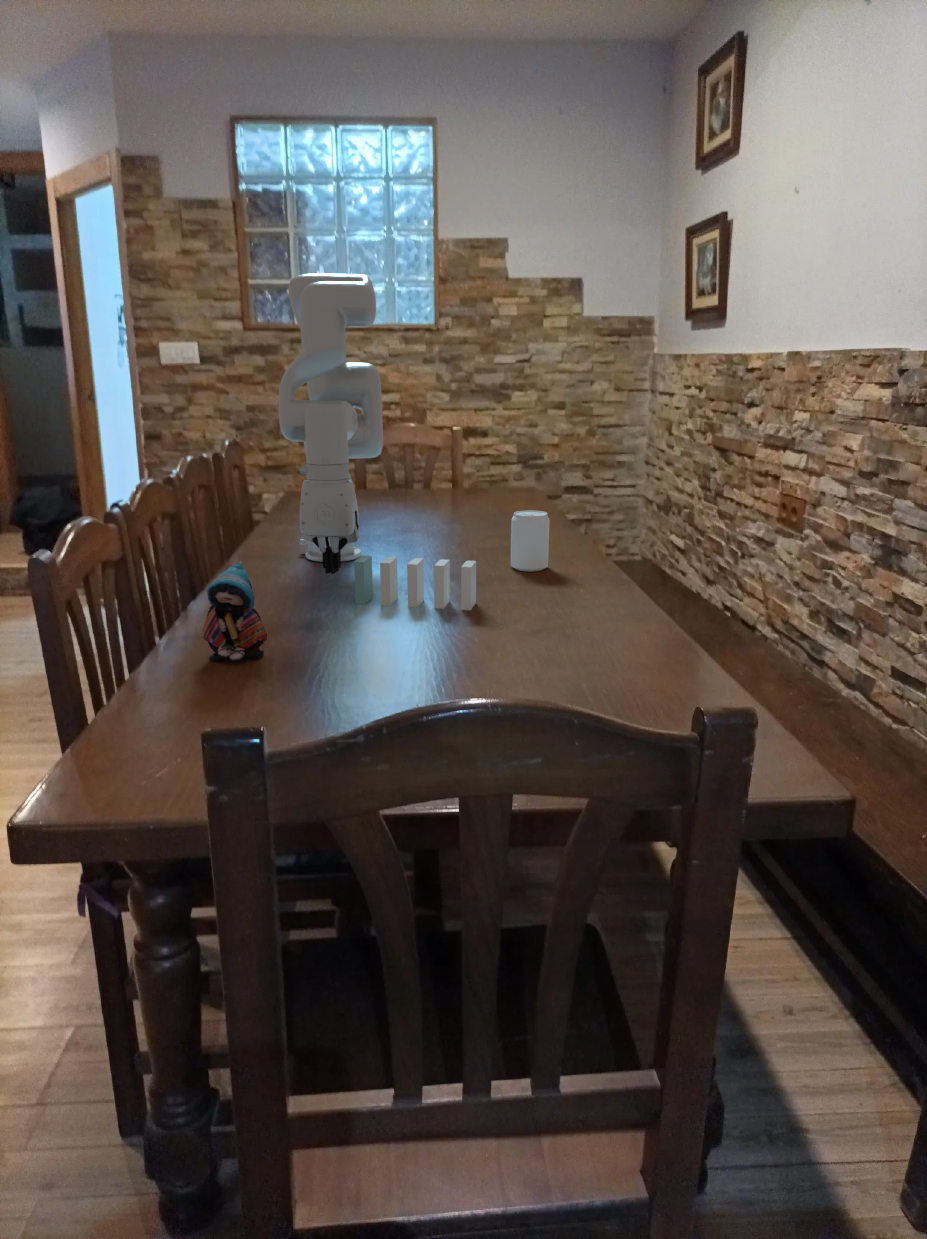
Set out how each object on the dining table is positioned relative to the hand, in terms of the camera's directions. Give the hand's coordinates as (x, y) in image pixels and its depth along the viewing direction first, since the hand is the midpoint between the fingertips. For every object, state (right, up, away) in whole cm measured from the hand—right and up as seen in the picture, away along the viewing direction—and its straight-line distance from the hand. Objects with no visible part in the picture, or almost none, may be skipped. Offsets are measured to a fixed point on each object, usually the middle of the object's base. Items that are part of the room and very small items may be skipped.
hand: (332, 572), depth 161 cm
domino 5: (+26, -6, -3) cm, 26 cm away
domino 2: (+11, -6, 0) cm, 12 cm away
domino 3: (+16, -6, -1) cm, 17 cm away
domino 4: (+21, -6, -2) cm, 22 cm away
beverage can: (+39, +2, +26) cm, 47 cm away
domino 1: (+6, -5, +1) cm, 8 cm away
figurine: (-10, -15, -31) cm, 36 cm away
